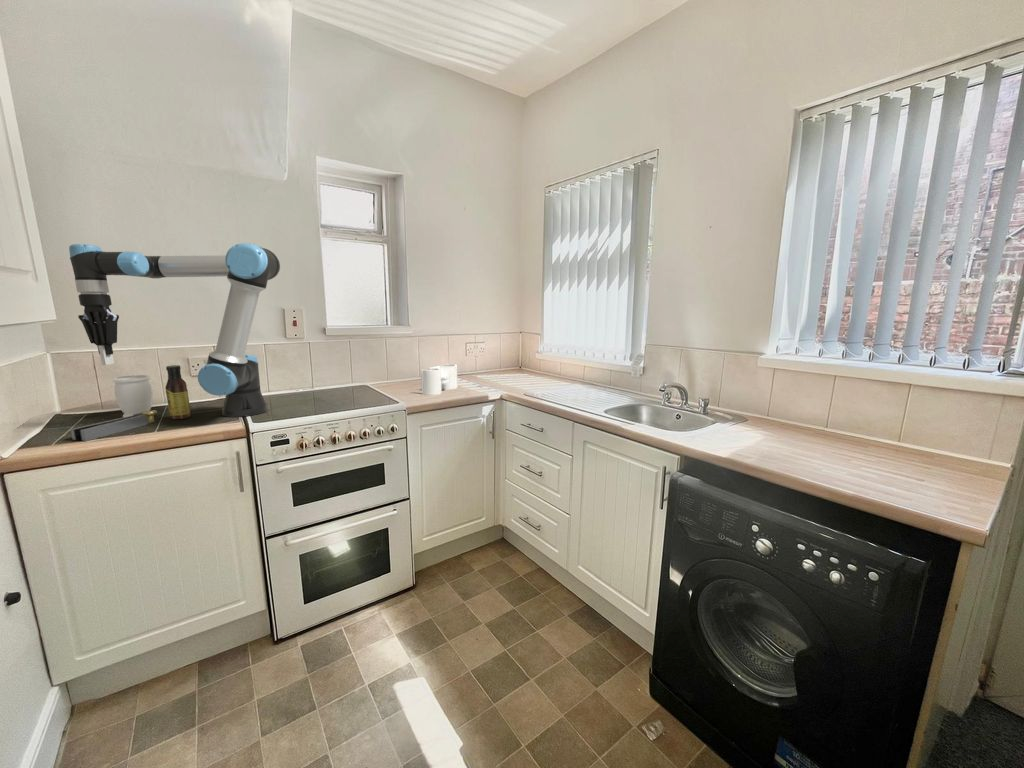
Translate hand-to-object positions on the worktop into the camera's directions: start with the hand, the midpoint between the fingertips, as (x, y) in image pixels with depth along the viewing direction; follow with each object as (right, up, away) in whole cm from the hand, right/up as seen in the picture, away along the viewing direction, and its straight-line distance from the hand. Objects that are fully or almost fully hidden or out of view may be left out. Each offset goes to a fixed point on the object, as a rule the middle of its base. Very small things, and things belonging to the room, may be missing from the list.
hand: (108, 364), depth 141 cm
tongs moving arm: (+5, -22, -1) cm, 23 cm away
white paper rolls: (+102, -10, +70) cm, 124 cm away
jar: (-5, -19, +16) cm, 26 cm away
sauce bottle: (+13, -20, +15) cm, 28 cm away
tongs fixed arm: (+6, -22, -2) cm, 23 cm away
